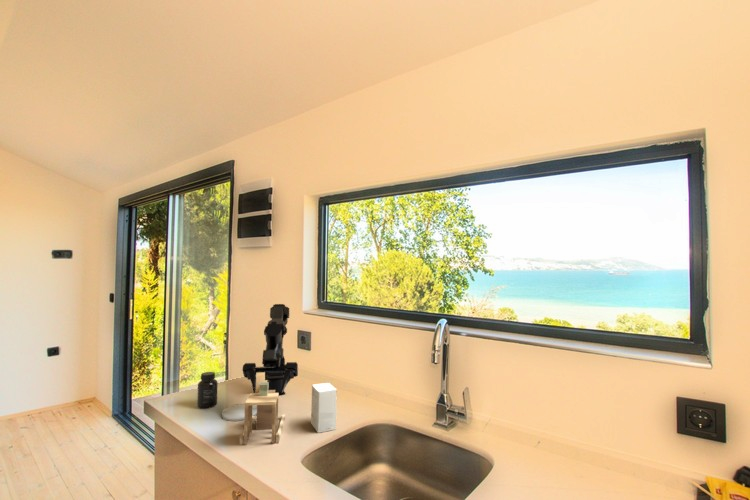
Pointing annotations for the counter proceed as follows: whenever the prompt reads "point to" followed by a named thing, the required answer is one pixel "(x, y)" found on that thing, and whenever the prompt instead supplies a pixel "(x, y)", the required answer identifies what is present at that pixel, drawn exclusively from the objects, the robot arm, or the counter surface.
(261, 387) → the wooden toy stool
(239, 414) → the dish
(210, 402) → the supplement bottle
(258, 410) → the walnut block
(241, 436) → the track
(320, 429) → the small box
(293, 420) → the counter surface
